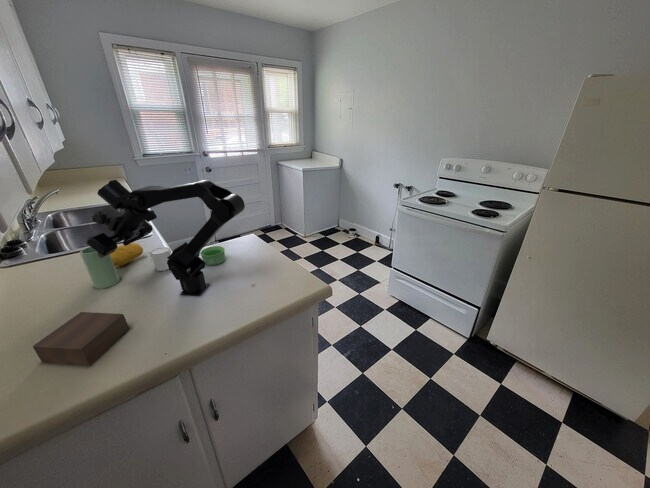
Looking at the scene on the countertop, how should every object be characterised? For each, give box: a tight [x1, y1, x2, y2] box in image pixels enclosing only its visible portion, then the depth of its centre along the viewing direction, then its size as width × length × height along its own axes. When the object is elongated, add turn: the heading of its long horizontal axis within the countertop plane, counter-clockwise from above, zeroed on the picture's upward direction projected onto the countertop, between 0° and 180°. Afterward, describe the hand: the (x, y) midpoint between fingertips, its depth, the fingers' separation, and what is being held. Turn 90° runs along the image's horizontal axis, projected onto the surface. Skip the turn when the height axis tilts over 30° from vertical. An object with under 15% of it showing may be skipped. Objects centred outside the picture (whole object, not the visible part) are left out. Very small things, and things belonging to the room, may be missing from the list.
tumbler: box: [79, 246, 121, 290], centre depth 90 cm, size 7×7×13 cm
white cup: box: [149, 246, 172, 272], centre depth 101 cm, size 7×7×7 cm
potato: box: [110, 242, 144, 267], centre depth 105 cm, size 8×14×7 cm, turn 158°
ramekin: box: [200, 245, 226, 266], centre depth 106 cm, size 9×9×4 cm
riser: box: [32, 311, 130, 366], centre depth 66 cm, size 12×12×5 cm
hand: (112, 250), depth 87 cm, fingers open, 9 cm apart
